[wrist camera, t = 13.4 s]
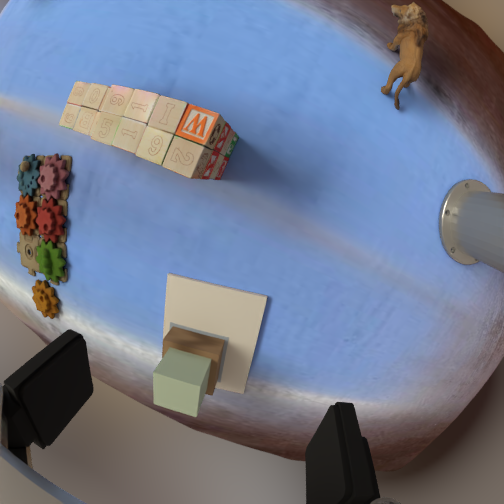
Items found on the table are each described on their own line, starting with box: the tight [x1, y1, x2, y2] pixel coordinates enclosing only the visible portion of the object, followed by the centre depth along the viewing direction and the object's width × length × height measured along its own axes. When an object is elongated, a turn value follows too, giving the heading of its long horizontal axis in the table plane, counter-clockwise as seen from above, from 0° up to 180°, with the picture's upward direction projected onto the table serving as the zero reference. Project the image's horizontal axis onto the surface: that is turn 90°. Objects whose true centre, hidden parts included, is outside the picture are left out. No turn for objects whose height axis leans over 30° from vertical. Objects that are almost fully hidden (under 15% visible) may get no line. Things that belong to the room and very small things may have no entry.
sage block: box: [153, 347, 211, 417], centre depth 34 cm, size 6×6×6 cm
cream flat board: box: [163, 273, 267, 394], centre depth 40 cm, size 14×18×1 cm
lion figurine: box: [381, 2, 428, 110], centre depth 24 cm, size 15×5×9 cm, turn 174°
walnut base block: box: [162, 326, 225, 395], centre depth 39 cm, size 8×8×4 cm
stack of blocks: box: [59, 81, 239, 180], centre depth 28 cm, size 21×6×12 cm, turn 66°
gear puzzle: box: [14, 154, 72, 319], centre depth 39 cm, size 31×16×4 cm, turn 170°
